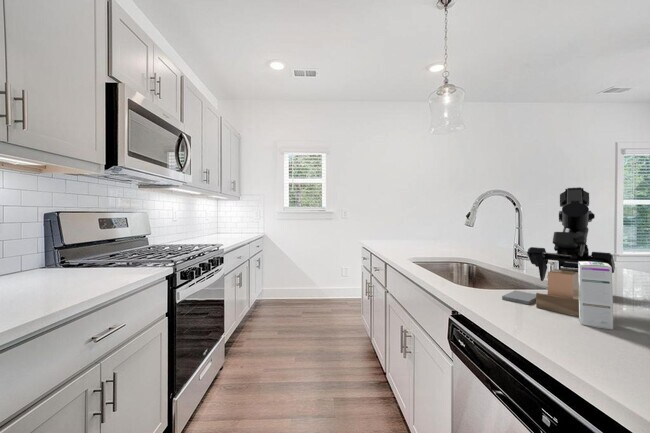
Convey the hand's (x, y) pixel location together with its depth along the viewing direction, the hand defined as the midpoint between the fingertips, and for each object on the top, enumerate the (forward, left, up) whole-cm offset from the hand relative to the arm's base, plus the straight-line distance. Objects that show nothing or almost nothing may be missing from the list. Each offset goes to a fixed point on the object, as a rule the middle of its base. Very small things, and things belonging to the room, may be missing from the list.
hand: (561, 283), depth 81 cm
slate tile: (-2, -11, -7) cm, 13 cm away
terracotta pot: (-1, 0, -7) cm, 7 cm away
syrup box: (+7, +8, -7) cm, 13 cm away
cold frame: (-1, 0, -7) cm, 7 cm away
